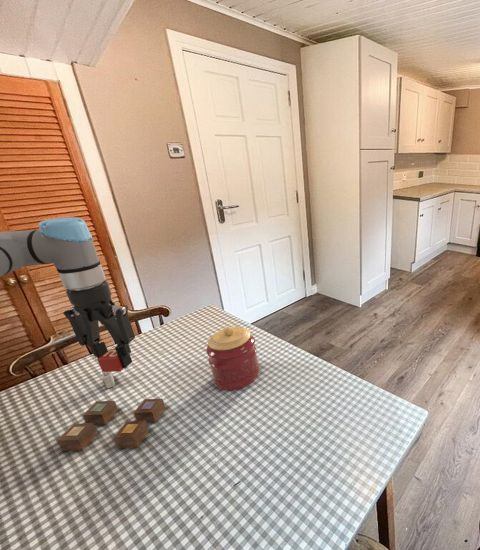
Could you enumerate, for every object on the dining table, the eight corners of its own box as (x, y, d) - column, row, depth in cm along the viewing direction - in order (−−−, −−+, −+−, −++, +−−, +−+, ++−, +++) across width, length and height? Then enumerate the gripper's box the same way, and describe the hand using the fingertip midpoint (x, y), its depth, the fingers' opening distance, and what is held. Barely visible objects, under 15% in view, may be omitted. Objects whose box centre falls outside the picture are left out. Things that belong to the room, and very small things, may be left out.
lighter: (115, 387, 88) (106, 365, 85) (107, 390, 87) (98, 367, 84) (113, 375, 93) (105, 353, 90) (106, 377, 92) (97, 355, 89)
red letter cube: (102, 372, 78) (96, 359, 76) (114, 361, 82) (109, 348, 80) (120, 371, 78) (115, 358, 76) (132, 360, 82) (127, 347, 81)
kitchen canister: (222, 399, 83) (209, 346, 77) (208, 375, 92) (196, 326, 86) (267, 378, 91) (259, 328, 85) (250, 358, 100) (242, 311, 94)
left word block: (87, 427, 75) (81, 415, 74) (101, 413, 79) (96, 401, 78) (106, 426, 75) (101, 414, 74) (119, 412, 80) (114, 400, 78)
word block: (63, 453, 69) (56, 440, 67) (79, 436, 73) (73, 423, 71) (84, 452, 69) (77, 439, 67) (99, 435, 73) (93, 422, 72)
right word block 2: (137, 424, 76) (133, 412, 74) (148, 410, 80) (144, 398, 78) (156, 424, 76) (151, 411, 75) (166, 409, 80) (162, 398, 79)
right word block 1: (118, 450, 69) (112, 437, 68) (131, 433, 74) (126, 420, 72) (138, 449, 70) (133, 436, 68) (150, 432, 74) (145, 420, 72)
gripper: (135, 277, 75) (159, 355, 84) (61, 279, 74) (93, 357, 83) (114, 290, 68) (142, 373, 77) (31, 292, 67) (70, 376, 76)
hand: (117, 365), depth 80 cm, fingers closed on red letter cube, 4 cm apart
